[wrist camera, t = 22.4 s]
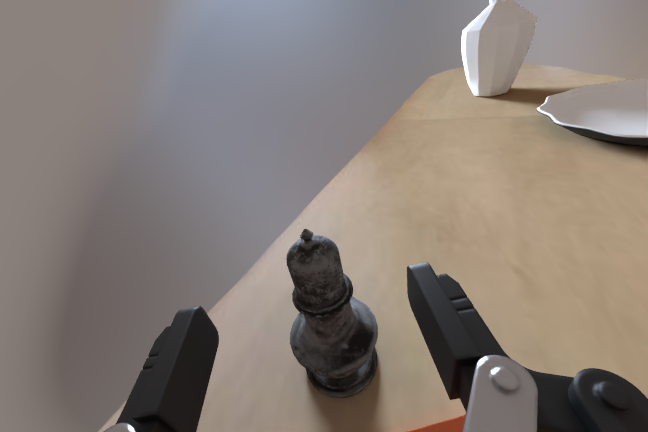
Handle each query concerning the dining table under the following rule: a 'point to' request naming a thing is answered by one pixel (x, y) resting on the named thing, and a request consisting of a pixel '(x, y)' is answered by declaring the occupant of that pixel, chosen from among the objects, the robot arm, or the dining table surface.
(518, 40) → the vase
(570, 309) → the dining table surface
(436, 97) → the dining table surface
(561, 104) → the plate
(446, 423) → the rectangular block
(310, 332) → the chess piece
